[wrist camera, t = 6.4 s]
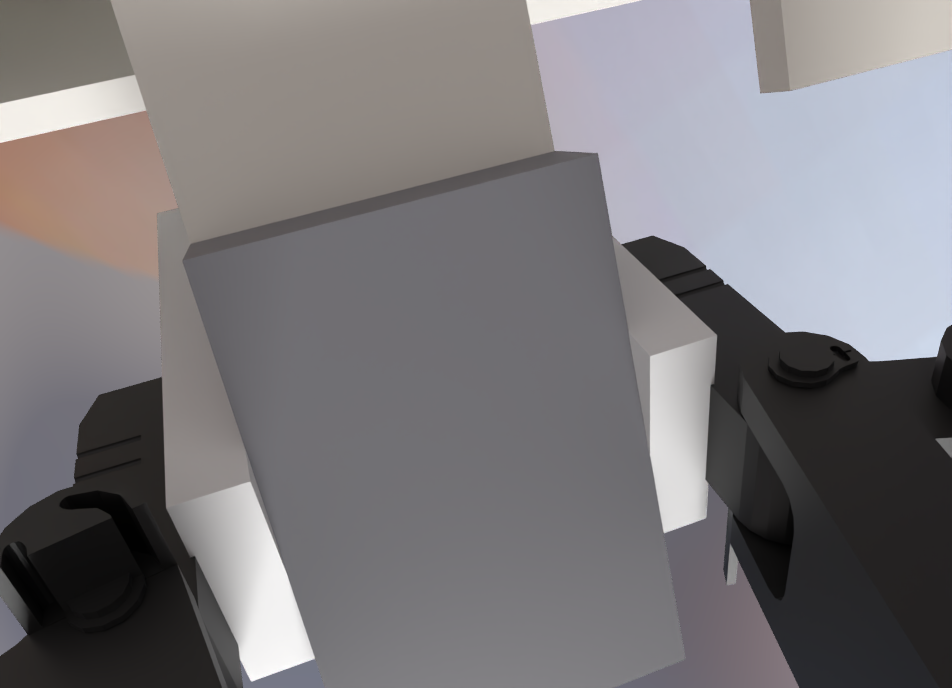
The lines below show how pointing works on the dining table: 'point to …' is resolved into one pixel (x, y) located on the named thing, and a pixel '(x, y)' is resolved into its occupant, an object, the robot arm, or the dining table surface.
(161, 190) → the dining table surface
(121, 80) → the carton
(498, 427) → the carton flap
